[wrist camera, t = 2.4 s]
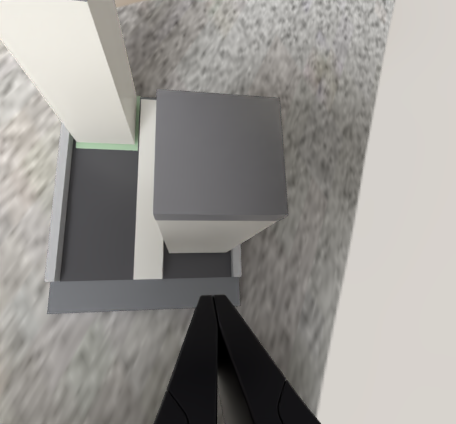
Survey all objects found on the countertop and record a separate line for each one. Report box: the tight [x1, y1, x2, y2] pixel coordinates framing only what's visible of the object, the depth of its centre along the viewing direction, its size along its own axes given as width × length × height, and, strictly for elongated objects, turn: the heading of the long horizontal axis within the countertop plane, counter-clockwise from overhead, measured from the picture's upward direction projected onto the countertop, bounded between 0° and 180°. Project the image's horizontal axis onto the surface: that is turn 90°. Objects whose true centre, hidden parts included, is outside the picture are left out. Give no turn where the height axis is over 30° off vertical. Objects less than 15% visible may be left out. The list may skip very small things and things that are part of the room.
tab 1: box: [0, 0, 137, 145], centre depth 14 cm, size 4×4×11 cm
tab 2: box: [153, 89, 288, 253], centre depth 13 cm, size 4×4×11 cm
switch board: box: [44, 96, 242, 314], centre depth 19 cm, size 14×11×2 cm
